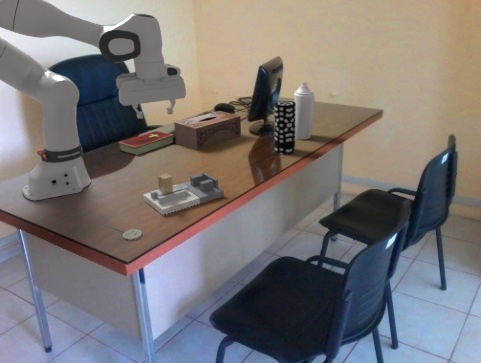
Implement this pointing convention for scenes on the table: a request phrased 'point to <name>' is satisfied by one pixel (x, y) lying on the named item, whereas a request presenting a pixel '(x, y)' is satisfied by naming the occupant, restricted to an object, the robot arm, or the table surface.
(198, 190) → the plate
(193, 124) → the tissue box cover
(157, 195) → the bolt
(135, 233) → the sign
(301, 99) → the spray can
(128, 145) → the hardcover book
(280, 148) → the white-spotted black cylinder
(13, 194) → the table surface
